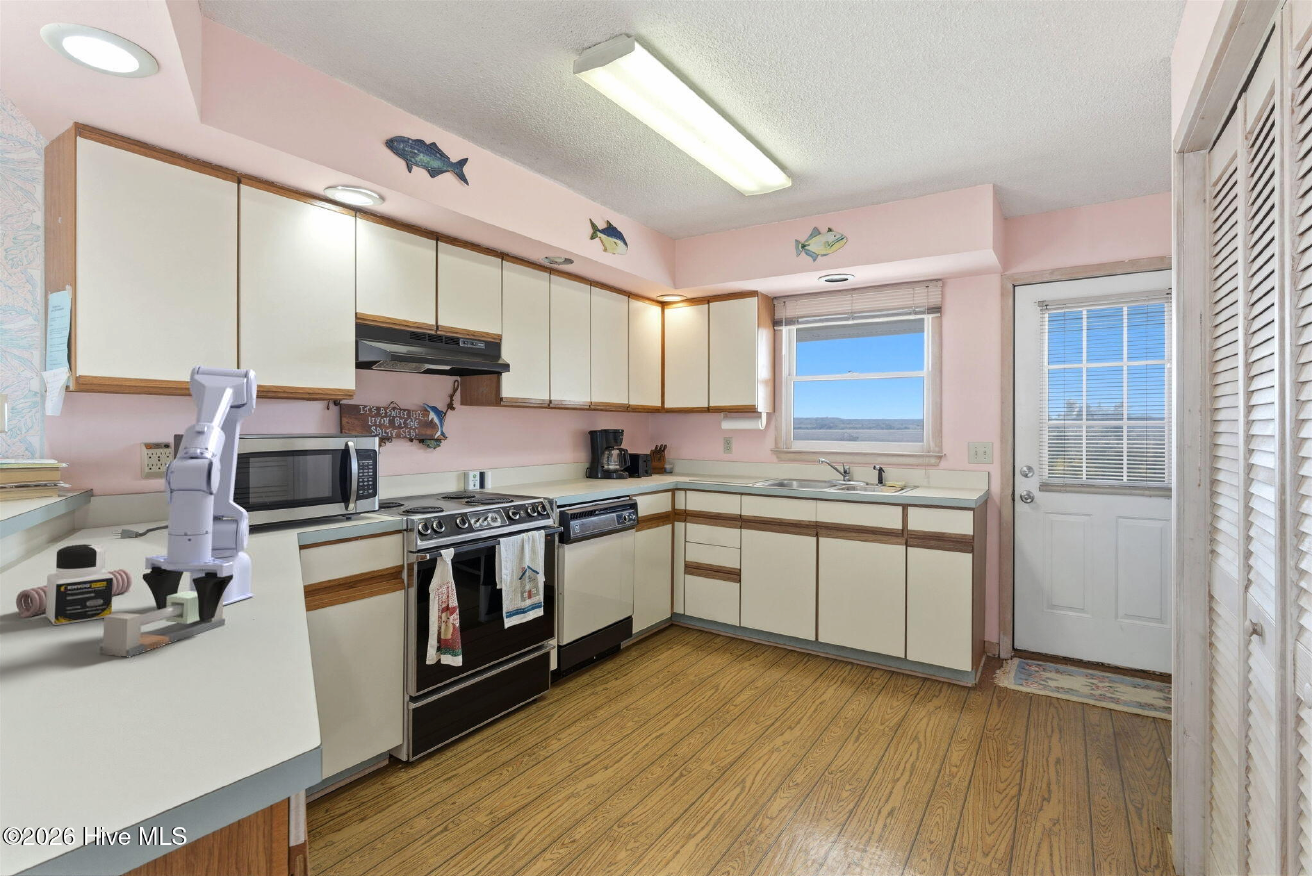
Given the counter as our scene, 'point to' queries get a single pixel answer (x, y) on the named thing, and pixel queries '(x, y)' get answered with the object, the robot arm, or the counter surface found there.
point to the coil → (38, 595)
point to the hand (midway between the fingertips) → (186, 616)
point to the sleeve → (189, 607)
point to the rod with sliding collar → (127, 637)
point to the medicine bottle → (79, 585)
